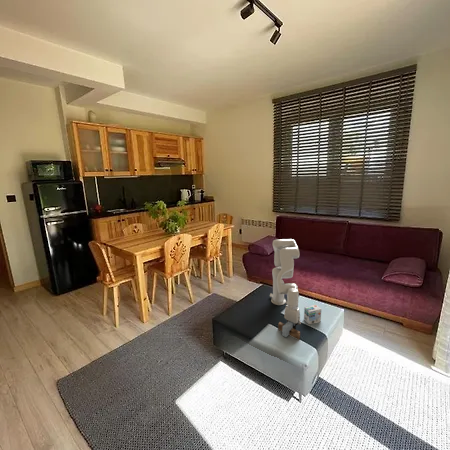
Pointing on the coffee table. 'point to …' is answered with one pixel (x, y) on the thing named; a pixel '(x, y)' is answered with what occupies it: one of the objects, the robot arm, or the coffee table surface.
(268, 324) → the coffee table surface
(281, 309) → the coffee table surface
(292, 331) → the rail
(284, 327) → the bar
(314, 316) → the light bulb box
